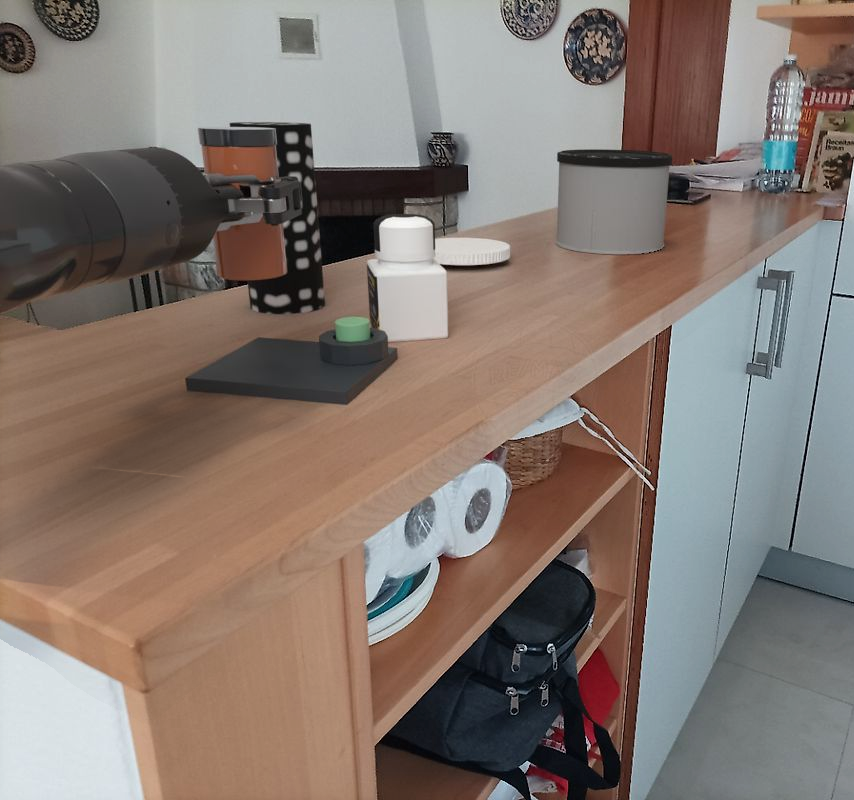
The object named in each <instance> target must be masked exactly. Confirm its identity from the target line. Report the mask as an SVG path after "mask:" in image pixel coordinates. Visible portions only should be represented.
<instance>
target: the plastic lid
mask: <svg viewBox="0 0 854 800" xmlns="http://www.w3.org/2000/svg"><path fill="white" fill-rule="evenodd" d="M510 258H511V245H510V244H509V243H507V242H505V241H501V240H497V239H490V238H482V237H481V238H479V237H445V238H444V237H442V238H435V257H434V259H435V260H436V261H437V262H438V263H439V264H440V265H446V266H449V265H450V266H478V265H480V266H481V265H482V266H483V265H490V264H497V263H502V262H505V261H507V260H509V259H510Z"/></svg>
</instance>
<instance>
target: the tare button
mask: <svg viewBox="0 0 854 800" xmlns="http://www.w3.org/2000/svg"><path fill="white" fill-rule="evenodd" d="M370 328H371V324H370V318H367V317H364V316H363V317H362V316H345V317H341V318H338V319H336V320H335V321H334V329H335V330H336V340H338V341H346V342H354V341H364V340H368V339H370Z"/></svg>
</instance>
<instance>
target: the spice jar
mask: <svg viewBox="0 0 854 800" xmlns="http://www.w3.org/2000/svg"><path fill="white" fill-rule="evenodd" d="M197 134H198V142H199V145H200V146H201V155H202V162H203V170H204V172H212V173H221V174H223V175H229V174H251V175H255V176H256V177H257V178H258V179H269V177H276V178H279V174H278V163H277V152H276V145H277V137H276V129H275V128H260V127H230V126H200V127H197ZM232 184H233V185H235V186H236V187H237V188H238V189H239V190H240V187H239V184H238V183H232ZM259 196H261V190H260V189H259ZM212 244H213V251H214V260H215V267H216V275H217V277H219V278H220V279H224V280H229V281H247V280H263V279H271V278H276V277H280V276H283V275H285V274H286V273H287V261H286V250H285V239H284V229H283V223H282V224H278V225H277V226H272V225H271V224H266V223H265V221H264V219H263V216H262V219H261V221H259V222H257V223H249V224H241V225H234V226H230V228H229V229H228V230H223V231H216V233H215V235H214V237H213V239H212Z"/></svg>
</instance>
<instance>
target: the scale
mask: <svg viewBox="0 0 854 800" xmlns="http://www.w3.org/2000/svg"><path fill="white" fill-rule="evenodd" d="M398 359H399V357H398V348H397V347H393V346H391V347H390V346H389V342H388V336H387V334H386V333H385V331H382V330H379V329H376V328H372V327H370V339H368V340H364V341H354V342H346V341H338V340H336V330H335V328H334V329H329V330H326V331H324V332H323V333H321V334H319V335H318V341H313V340H299V339H287V338H286V339H285V338H274V337H273V338H272V337H261V336H259V337H256V338H254V339H253V340H251V341H249V342H247V343H245V344H243V345H241V346H240V347H238V348H236V349H234V350H233V351H231V352H229V353H227V354H224V355H223V356H222V357H220V358H218V359H217V360H215V361H213V362H211V363H209V364H207V365H206V366H204V367H202V368H201V369H199V370H197V371H195V372H193V373H191V374H190V375H187V376H186V377H185V378H184V380H185V387H186V391H187V392H197V393H209V394H222V395H230V396H231V395H233V396H242V397H243V396H244V397H252V398H263V399H265V398H266V399H277V400H288V401H301V402H311V403H322V404H332V405H342V406H343V405H345V406H347V405H349V404H350V403H351V402H352V401H353V400H354V399H356V398H357V397H358V396H359V395H360V394H361V393H362V392H364V390H366V389H367V388H368V387H369V386H370V385H371V384H373V383H374V381H376V380H377V379H378V378H379V377H380V376H381V375H382V374H383V373H385V372H386V371H387V370H388V369H389V368H390V367H391V366H392V365H393V364H394V363H395V362H396V361H398Z"/></svg>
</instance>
